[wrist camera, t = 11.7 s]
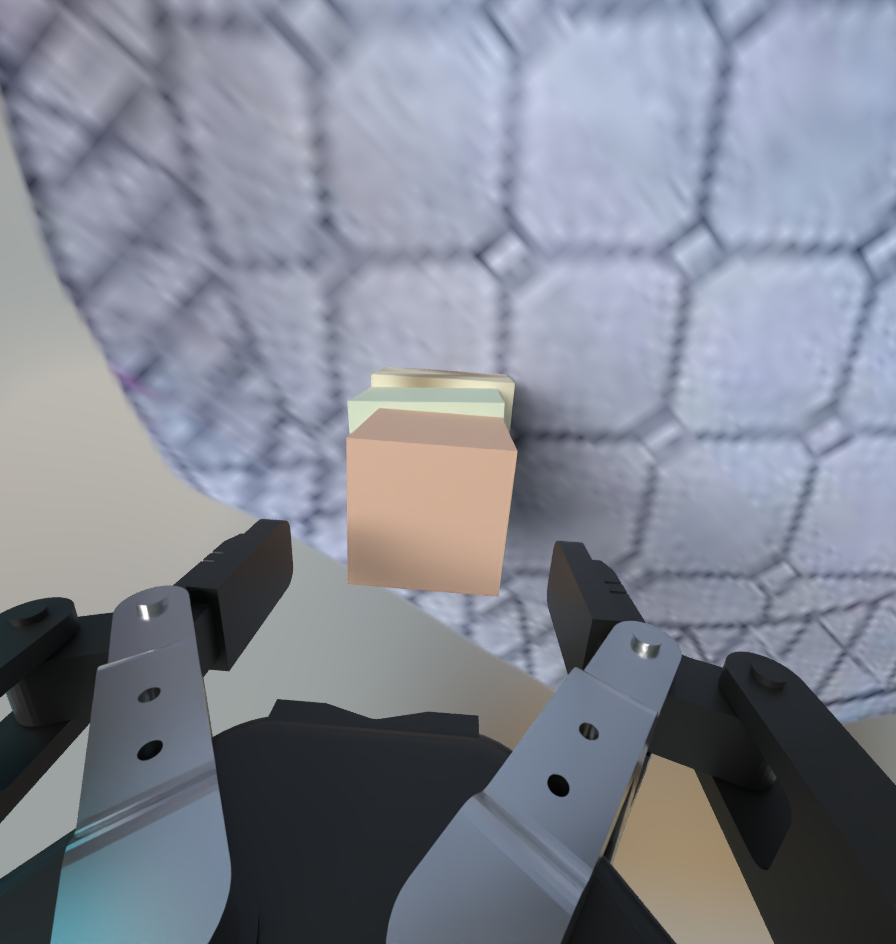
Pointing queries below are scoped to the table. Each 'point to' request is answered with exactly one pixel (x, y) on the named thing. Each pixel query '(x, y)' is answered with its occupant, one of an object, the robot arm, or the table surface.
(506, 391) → the birch base block
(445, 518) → the terracotta block
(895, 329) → the table surface
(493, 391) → the sage top block
